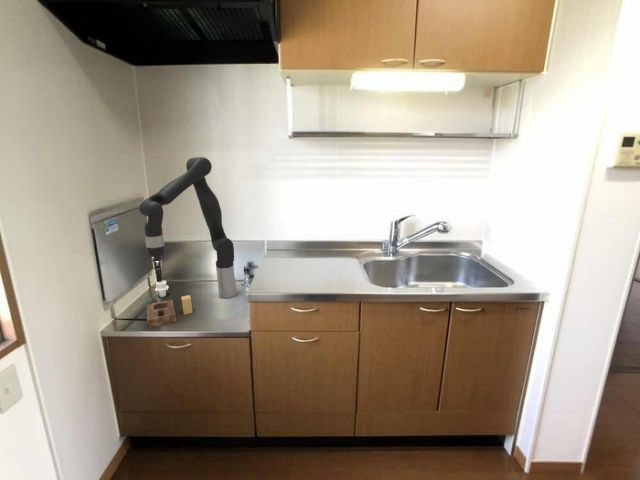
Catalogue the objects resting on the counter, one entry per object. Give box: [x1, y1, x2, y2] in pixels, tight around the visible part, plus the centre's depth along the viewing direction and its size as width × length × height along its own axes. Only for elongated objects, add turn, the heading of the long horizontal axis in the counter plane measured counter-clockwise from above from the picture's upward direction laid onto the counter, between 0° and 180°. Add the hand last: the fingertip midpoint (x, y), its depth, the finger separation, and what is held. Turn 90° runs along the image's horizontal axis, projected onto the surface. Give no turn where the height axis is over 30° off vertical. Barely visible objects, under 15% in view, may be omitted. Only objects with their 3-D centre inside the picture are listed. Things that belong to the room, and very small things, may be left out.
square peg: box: [180, 294, 193, 315], centre depth 173 cm, size 4×4×8 cm
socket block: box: [146, 299, 177, 329], centre depth 169 cm, size 12×18×4 cm, turn 26°
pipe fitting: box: [154, 280, 170, 298], centre depth 192 cm, size 6×7×8 cm
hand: (159, 278), depth 162 cm, fingers open, 8 cm apart
